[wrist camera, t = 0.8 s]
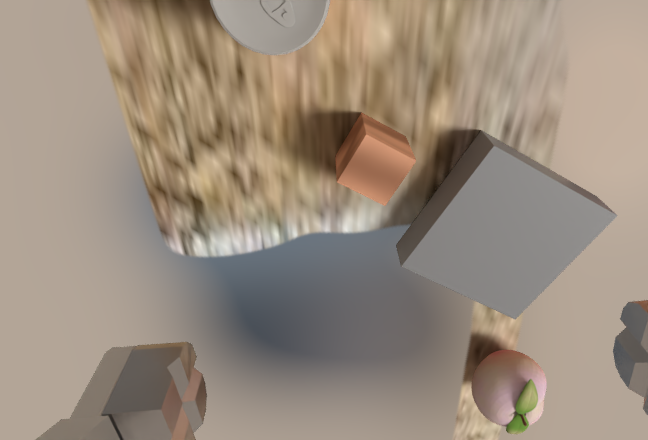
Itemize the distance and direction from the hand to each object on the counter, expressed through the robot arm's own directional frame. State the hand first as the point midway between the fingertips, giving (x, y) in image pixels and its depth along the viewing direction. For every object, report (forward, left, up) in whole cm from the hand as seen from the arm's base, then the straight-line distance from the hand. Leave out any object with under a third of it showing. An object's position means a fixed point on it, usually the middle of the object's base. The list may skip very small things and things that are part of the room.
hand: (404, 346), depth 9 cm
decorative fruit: (+25, +37, -37) cm, 58 cm away
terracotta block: (+8, +8, -37) cm, 39 cm away
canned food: (-1, -6, -37) cm, 38 cm away
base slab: (+9, +24, -37) cm, 45 cm away
